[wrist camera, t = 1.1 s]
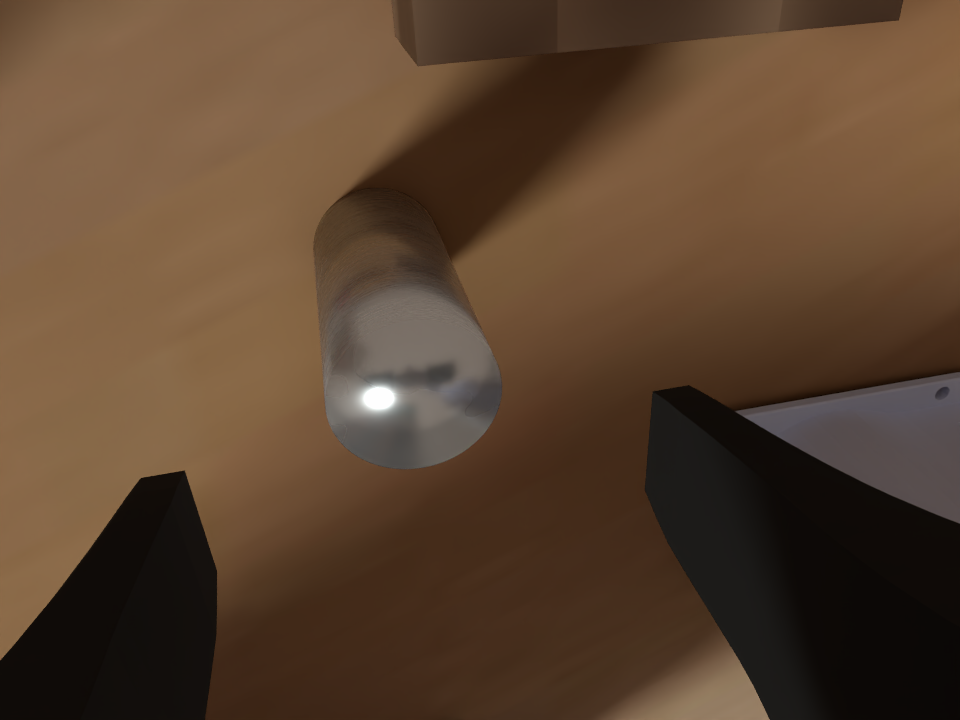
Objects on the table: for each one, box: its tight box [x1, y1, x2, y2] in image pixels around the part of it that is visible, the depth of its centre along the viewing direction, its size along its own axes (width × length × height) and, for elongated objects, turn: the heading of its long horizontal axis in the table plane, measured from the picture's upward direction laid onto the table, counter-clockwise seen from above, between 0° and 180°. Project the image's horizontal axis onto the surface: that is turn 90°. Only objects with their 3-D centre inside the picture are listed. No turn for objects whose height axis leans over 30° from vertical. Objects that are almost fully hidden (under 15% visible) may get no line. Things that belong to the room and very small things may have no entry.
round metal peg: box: [313, 188, 502, 469], centre depth 17 cm, size 3×3×7 cm
